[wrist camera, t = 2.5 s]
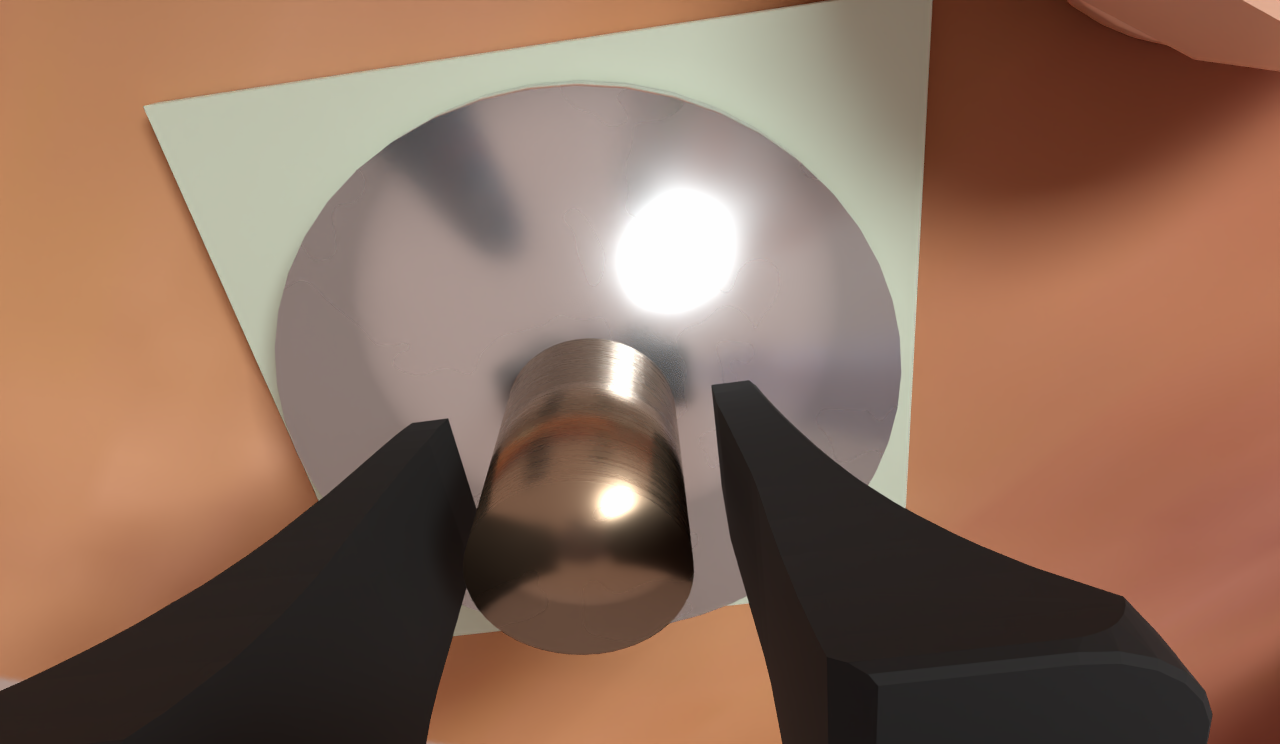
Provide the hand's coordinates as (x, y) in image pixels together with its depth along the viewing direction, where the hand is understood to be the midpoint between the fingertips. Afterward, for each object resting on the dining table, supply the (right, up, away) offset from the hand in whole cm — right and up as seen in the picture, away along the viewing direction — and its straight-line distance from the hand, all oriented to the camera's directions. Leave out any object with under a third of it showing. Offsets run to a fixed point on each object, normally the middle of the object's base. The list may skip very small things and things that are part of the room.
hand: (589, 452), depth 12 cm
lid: (0, +1, +2) cm, 2 cm away
